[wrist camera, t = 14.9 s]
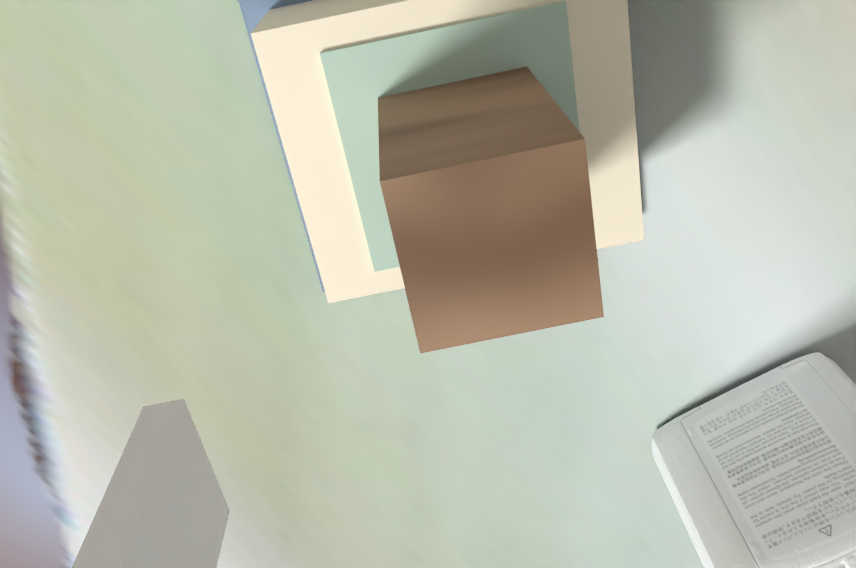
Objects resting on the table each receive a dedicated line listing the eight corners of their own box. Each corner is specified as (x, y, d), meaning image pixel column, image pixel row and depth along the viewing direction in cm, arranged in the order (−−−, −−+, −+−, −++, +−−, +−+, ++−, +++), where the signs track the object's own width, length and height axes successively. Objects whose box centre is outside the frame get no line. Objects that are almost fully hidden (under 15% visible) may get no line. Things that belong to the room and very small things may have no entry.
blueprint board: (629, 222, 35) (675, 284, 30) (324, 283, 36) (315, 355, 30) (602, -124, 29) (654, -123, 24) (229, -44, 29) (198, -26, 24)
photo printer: (668, 483, 43) (770, 693, 32) (634, 431, 41) (731, 635, 30) (849, 393, 41) (1025, 585, 30) (822, 334, 39) (999, 515, 28)
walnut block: (545, 205, 28) (603, 316, 21) (408, 233, 28) (420, 353, 21) (526, 66, 26) (584, 139, 19) (377, 97, 26) (379, 181, 19)
